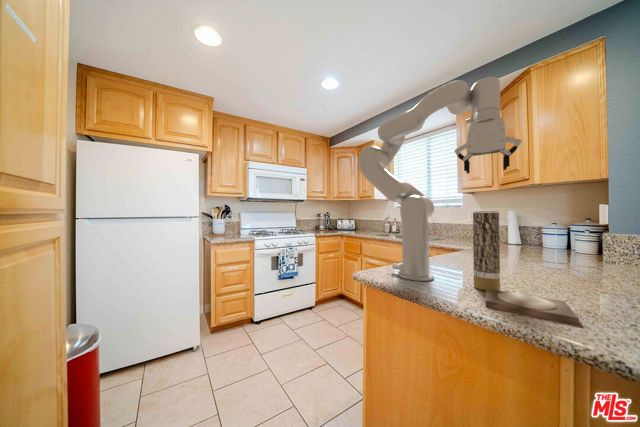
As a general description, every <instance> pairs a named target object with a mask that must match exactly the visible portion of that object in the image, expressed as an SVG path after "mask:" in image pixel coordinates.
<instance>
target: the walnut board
mask: <svg viewBox="0 0 640 427" xmlns="http://www.w3.org/2000/svg"><path fill="white" fill-rule="evenodd" d="M485 308H491V309H497V310H500V311H501V310H502V311H506V312H510V313H516V314H521V315H527V316H531V317H536V318H541V319H546V320H551V321H556V322H560V323H561V322H563V323H566V324H570V325H571V324H573V325H575V326H580V318H579V316H578V315H577V314H576V313H575V312H574V311H573V310H572V309H571V307H570V306H569V305H568V304H567V303H566V301H564V300H558V299H553V298H552V299H550V298H546V297H540V296H534V295H530V294H524V293H516V292H510V291H509V292H508V291H507V292H506V291H503V290H499V291H496V290H490V289H486V291H485Z"/></svg>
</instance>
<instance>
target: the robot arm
mask: <svg viewBox="0 0 640 427" xmlns="http://www.w3.org/2000/svg"><path fill="white" fill-rule="evenodd" d="M444 108H447V110H448V112H449V113H450V114H452V115H456V116H457V115H462V114H465V113H466V112H470V111H471V115H470V116H471V117H470V118H468V119H467V118H466V122H465V123H466V124H469V125H468V126H467V127H468V128H467V135H466V143H464V144H462V145H460V146H459V147H457V148H455V149H454V153H455V155H456V156H457V158H458V159H460V160H461V161H462V162H463V170H464V172H465V173H466V174H467V175H468V174H470V161H469V160H470V159H471V158H472V157H474V156H483V155H492V154H499V153H500V154H501V155H503V157H502V166H503V167H502V168H503V171H507V168H508V167H510V157H511V155H513V154H514V153H516V151H517V150H518V148H519V146H520V145H521V143H522V140H521V139H520V138H515V137H509V136H507V130H506V124H505V120H504V119H505V118H504V117H501V81H500V78H498V77H496V76H487V77H484V78H481V79H479V80H478V81H476V82H475V83H474V84H473V85H472V87H471V89H470V87H469V85H468V83H467V82H466V81H464V80H462V79H461V80H460V79H457V80H453V81H449V82H447V83H444V84H442V85H440V86H439V87H437V88H435V89H433V90H431V91H430V92H429V93H427V94H426V95H425V96H424V97H422V99H420V101H418V103H417V104H415V106H414V107H413V108H411V109H409V110H406V111H405V112H404V113H401V114H399V115H397V116H395V117H393V118H391V119H389V120H386V121H385V122H383V123H382V124H380V125H379V127H378V129H377V135H378V139H380V140H381V141H382V142H383V144H382V145H381V147H378V146H376V145H366V146H364V147H362V149H361V150H360V152H359V155H358V160H357V161H358V167H359V170H360V173H361V174H362V176H363V177H364V178H365V179H366V180H367V181H368V182H369V183H370V184H371V185H372V186H374V188H376V189H377V191H379V192H380V193H381V194H382V195H383V196H385V197H386V199H387V200H388V201H389V202H393V203H398V204H399V205H400V206H399V209H400V210H399V212H400V221H401V239H402V240H401V244H402V248H401V249H402V250H401V252H402V254H401V255H402V257H401V259H402V263H400V264H399V263H392V264H391V267H392V269H393V270H399V271H398V273H397V275H398V276H399V277H400V278H403V279H405V280H410V281H418V282H428V281H433V280H434V277H435V276H434V274H432V273H430V233H429V232H430V229H429V218H430V217H431V216H432V215H433V214H434V212H435V206H434V203H433V201H432V200H431V199H430V198H428V196H426V195H425V194H424V193H423V192H421V191H420V190H418V189H417V188H416V187H415V186H413V185H412V184H411V183H409V182H407V181H405V180H402V179H399V178H398V177H396V176H395V175H393V174H392V173H391V172H389V171H388V170H387V169H386V168H387V167H388V166H389V165H390V164H391V163H392V161H393V160H394V158H395V156H396V155H397V153H398V152H399V150H400V149H401V147H402V146H403V144H404V142H405V138H406V136H408V135H411V134H412V133H415V132H418V131H421V129H422V128H423V126H424V124H425V122H426V120H427V119H428V118H429V117H430V116H431V115H433V114H435V113H436V112H438V111H440V110H442V109H444ZM507 143H509V144H513V146H512V147H511V148H509V149H508V148H506V147H507ZM464 150H466V155H463V154H462V153H461V152H462V151H464Z"/></svg>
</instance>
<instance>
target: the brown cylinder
mask: <svg viewBox="0 0 640 427" xmlns="http://www.w3.org/2000/svg"><path fill="white" fill-rule="evenodd" d="M472 233H473V234H472V242H473V244H472V245H473V246H472V248H473V250H472V252H473V256H472V257H473V264H472V265H473V286H474V288H476V289H477V290H482V291H485V292H486V289H490V290H496V291H501V280H500V279H501V264H500V262H501V260H500V259H501V256H500V254H501V252H500V251H501V250H500V212H499V211H498V210H495V211H494V210H490V211H489V210H486V211H484V210H483V211H482V210H481V211H480V210H479V211H472Z"/></svg>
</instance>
